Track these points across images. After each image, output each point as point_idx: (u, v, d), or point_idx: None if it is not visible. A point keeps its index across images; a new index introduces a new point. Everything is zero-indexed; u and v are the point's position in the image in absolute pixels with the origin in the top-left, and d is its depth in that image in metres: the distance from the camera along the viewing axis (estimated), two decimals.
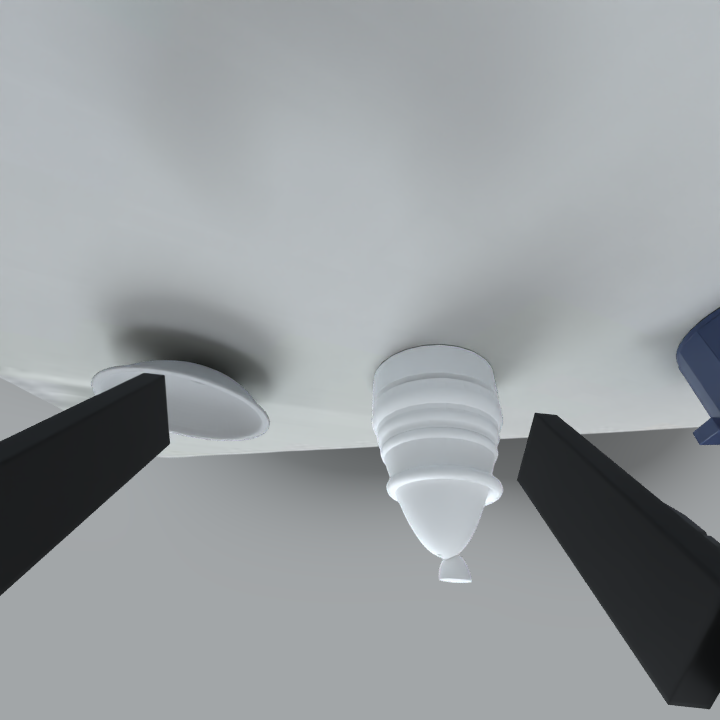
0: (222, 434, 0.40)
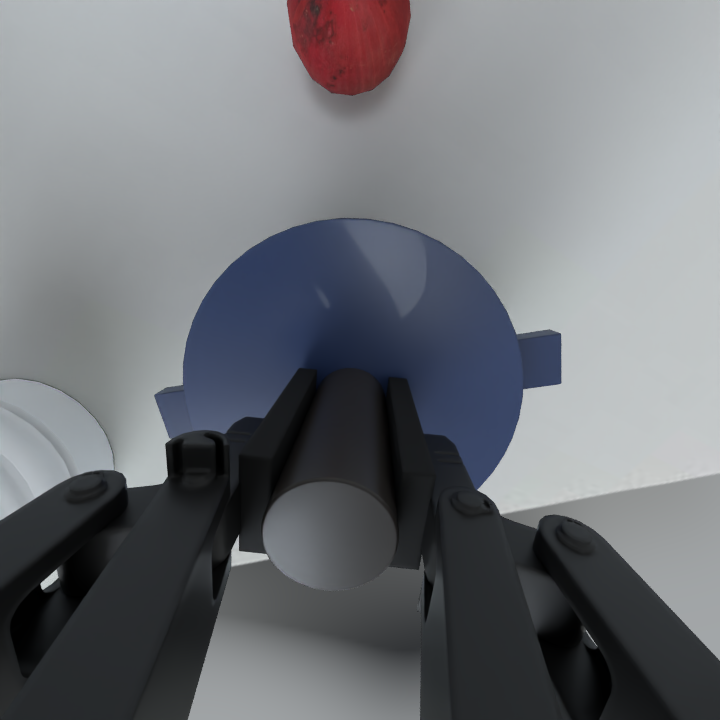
0: None
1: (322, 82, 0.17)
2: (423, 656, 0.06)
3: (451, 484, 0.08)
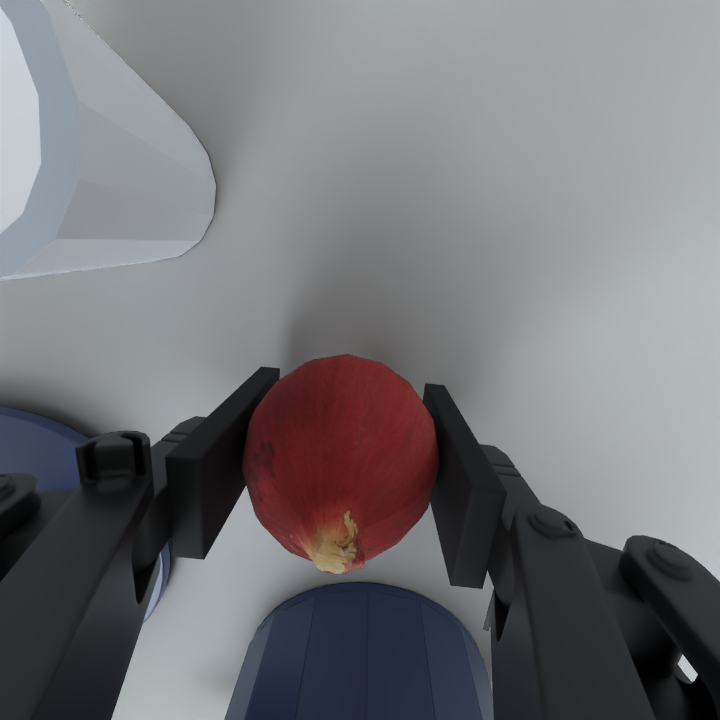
0: None
1: None
2: (496, 676, 0.06)
3: (515, 500, 0.08)
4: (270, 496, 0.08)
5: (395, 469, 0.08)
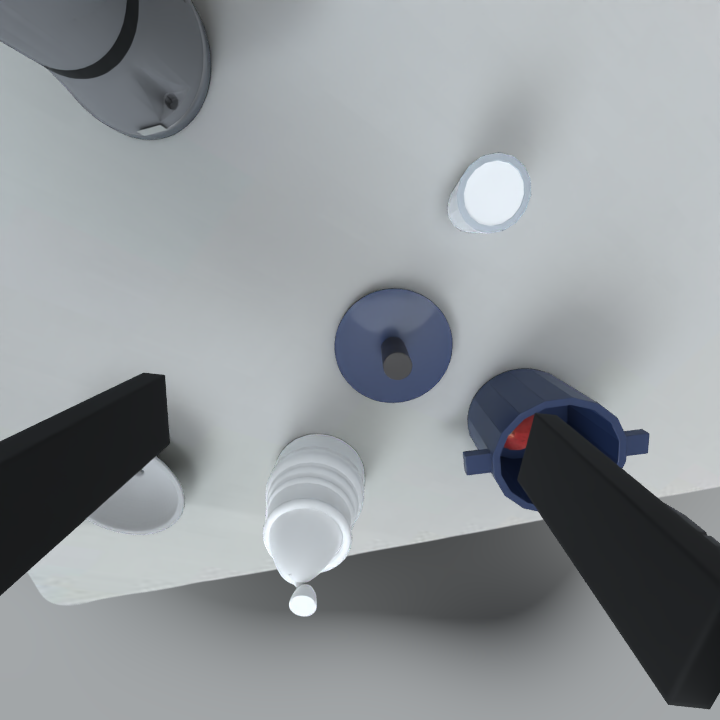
0: (140, 527, 0.46)
1: None
2: None
3: None
4: None
5: (523, 424, 0.37)
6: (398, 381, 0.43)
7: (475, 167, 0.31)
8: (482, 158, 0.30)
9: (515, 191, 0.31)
